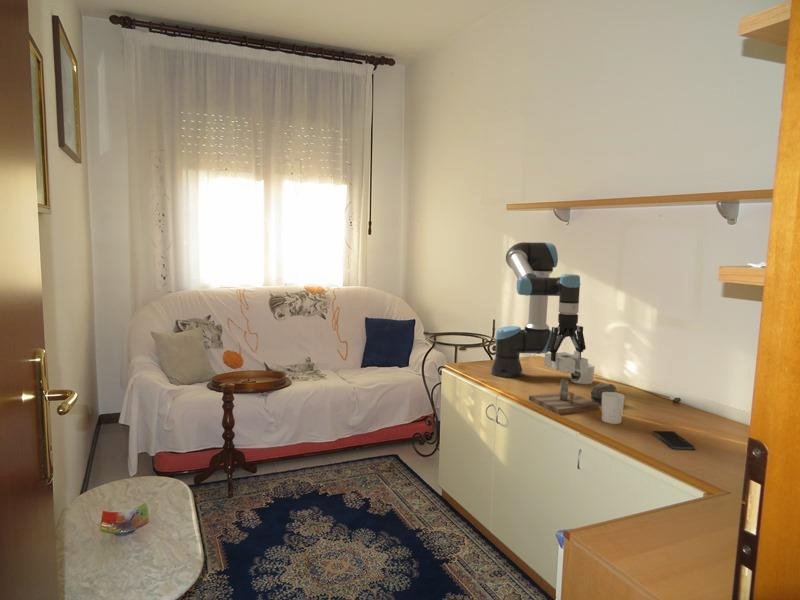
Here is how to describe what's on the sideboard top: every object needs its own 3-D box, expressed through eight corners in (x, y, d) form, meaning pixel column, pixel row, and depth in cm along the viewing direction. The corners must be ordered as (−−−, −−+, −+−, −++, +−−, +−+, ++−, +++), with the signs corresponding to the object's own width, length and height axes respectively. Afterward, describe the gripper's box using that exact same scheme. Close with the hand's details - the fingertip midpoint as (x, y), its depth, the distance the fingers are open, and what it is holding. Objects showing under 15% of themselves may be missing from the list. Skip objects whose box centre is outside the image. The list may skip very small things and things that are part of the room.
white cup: (596, 420, 206) (597, 394, 205) (607, 416, 211) (608, 390, 210) (615, 426, 200) (617, 399, 199) (626, 421, 205) (628, 395, 204)
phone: (671, 447, 179) (651, 430, 194) (671, 450, 179) (651, 433, 194) (696, 447, 179) (674, 431, 194) (696, 451, 179) (674, 434, 194)
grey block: (544, 365, 227) (544, 353, 227) (564, 364, 231) (564, 352, 230) (566, 373, 214) (567, 360, 214) (587, 371, 218) (588, 359, 218)
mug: (597, 382, 261) (599, 365, 260) (585, 385, 254) (586, 368, 253) (573, 376, 271) (574, 360, 270) (560, 379, 265) (561, 362, 264)
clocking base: (528, 400, 230) (529, 376, 228) (567, 395, 237) (569, 373, 236) (558, 414, 212) (559, 388, 211) (599, 409, 220) (600, 384, 219)
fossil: (587, 402, 226) (590, 378, 229) (591, 407, 234) (593, 384, 237) (616, 406, 221) (618, 381, 224) (618, 411, 228) (620, 387, 232)
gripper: (550, 315, 213) (548, 372, 215) (597, 313, 221) (594, 368, 223) (539, 312, 219) (536, 368, 222) (584, 311, 228) (581, 364, 230)
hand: (565, 368), depth 223 cm, fingers closed on grey block, 10 cm apart
